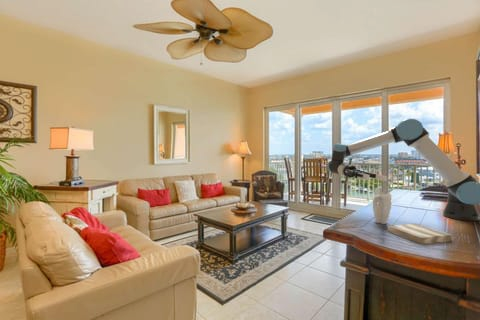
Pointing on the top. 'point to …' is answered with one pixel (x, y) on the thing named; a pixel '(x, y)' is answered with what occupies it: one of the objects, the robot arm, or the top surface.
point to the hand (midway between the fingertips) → (377, 178)
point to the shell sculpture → (381, 206)
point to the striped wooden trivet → (419, 233)
